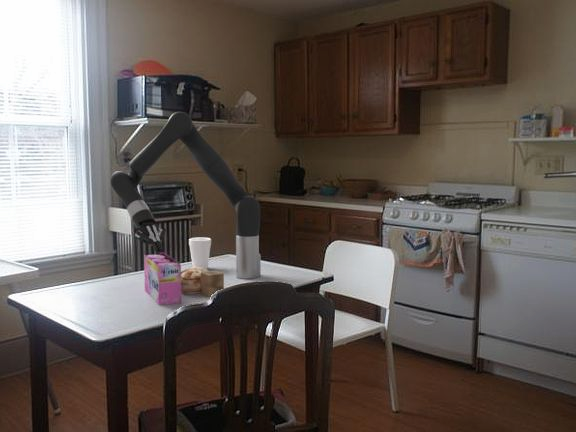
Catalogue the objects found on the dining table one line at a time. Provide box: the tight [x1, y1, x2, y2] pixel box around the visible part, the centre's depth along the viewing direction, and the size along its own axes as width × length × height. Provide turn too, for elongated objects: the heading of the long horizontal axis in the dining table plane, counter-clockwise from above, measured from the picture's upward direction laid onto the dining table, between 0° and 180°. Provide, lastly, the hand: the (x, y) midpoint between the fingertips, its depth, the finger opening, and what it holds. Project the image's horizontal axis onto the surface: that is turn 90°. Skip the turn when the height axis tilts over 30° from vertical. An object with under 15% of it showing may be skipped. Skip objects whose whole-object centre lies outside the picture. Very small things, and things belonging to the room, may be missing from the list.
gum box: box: [143, 252, 182, 306], centre depth 192 cm, size 24×8×14 cm, turn 27°
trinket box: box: [181, 267, 209, 295], centre depth 202 cm, size 13×15×8 cm
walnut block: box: [200, 270, 225, 298], centre depth 194 cm, size 6×6×8 cm
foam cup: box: [188, 236, 212, 270], centre depth 237 cm, size 10×9×13 cm
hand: (160, 251), depth 195 cm, fingers closed
